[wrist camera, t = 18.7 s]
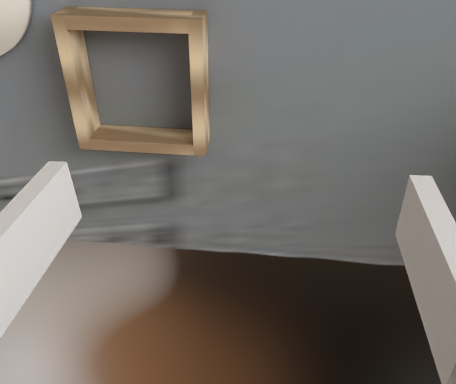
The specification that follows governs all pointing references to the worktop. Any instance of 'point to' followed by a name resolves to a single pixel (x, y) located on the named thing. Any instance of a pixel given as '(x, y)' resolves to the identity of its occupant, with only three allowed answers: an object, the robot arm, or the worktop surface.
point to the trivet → (13, 22)
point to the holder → (84, 91)
